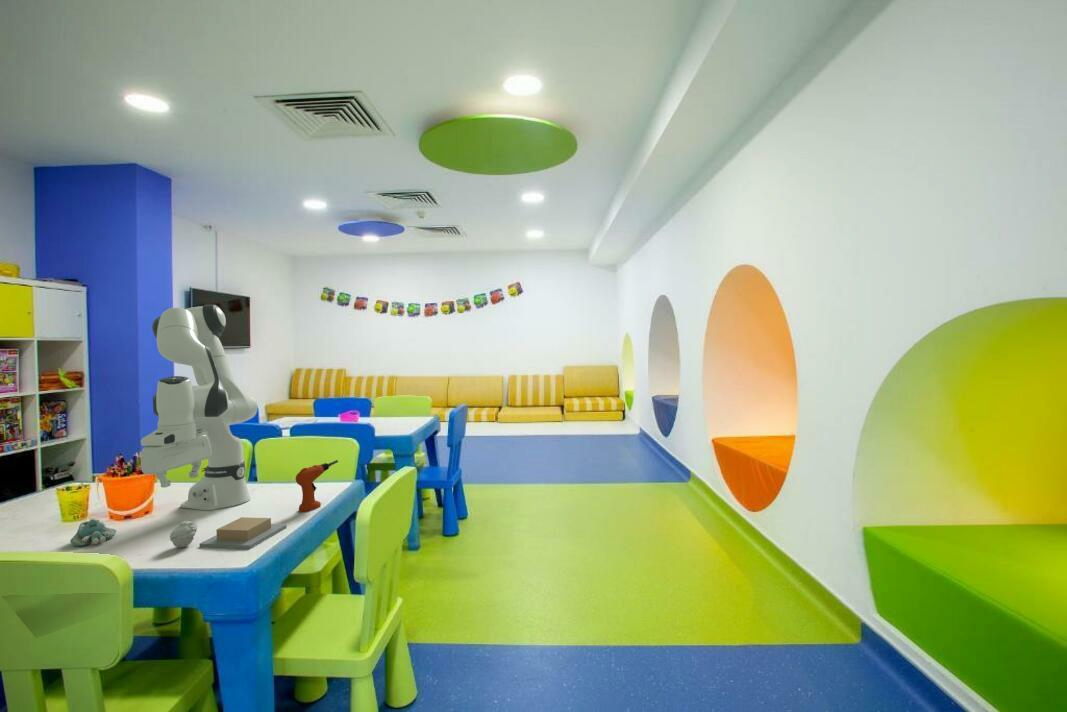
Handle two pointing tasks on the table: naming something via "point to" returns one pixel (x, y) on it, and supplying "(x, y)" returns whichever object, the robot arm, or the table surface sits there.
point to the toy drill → (310, 485)
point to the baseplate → (243, 543)
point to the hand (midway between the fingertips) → (180, 482)
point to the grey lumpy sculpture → (183, 534)
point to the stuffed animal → (92, 533)
